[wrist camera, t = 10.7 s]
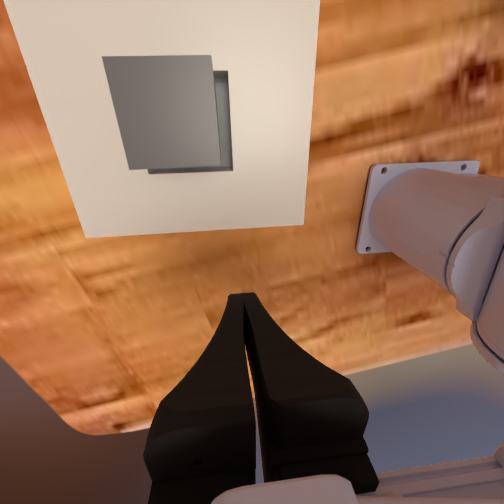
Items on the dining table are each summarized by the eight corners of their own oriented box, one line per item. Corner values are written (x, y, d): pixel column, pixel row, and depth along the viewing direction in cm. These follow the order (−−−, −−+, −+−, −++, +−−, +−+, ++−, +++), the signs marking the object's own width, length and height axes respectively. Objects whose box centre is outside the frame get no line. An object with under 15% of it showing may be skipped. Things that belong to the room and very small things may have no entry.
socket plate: (307, -5, 15) (321, -28, 13) (295, 215, 21) (303, 224, 19) (27, -12, 14) (-10, -39, 12) (100, 226, 20) (85, 238, 18)
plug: (215, 88, 17) (211, 54, 9) (221, 152, 18) (220, 165, 11) (154, 89, 16) (101, 56, 9) (165, 154, 18) (129, 169, 11)
